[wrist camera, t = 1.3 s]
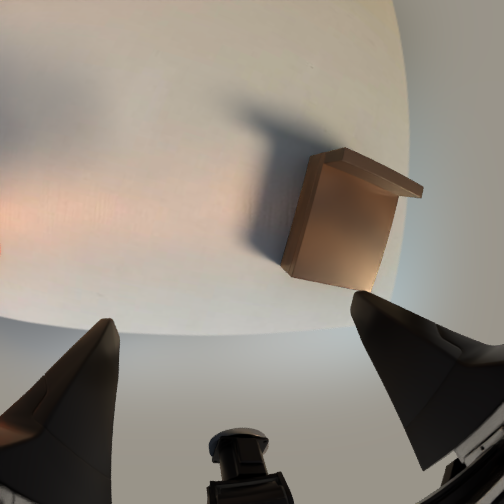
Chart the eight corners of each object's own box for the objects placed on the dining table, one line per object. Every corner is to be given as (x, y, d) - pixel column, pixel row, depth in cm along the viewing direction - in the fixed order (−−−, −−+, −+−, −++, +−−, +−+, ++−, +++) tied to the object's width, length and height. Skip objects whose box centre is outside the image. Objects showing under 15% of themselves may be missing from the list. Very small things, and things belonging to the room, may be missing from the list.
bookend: (353, 281, 26) (389, 305, 20) (279, 265, 24) (305, 290, 18) (381, 184, 24) (424, 186, 18) (310, 155, 22) (344, 146, 16)
